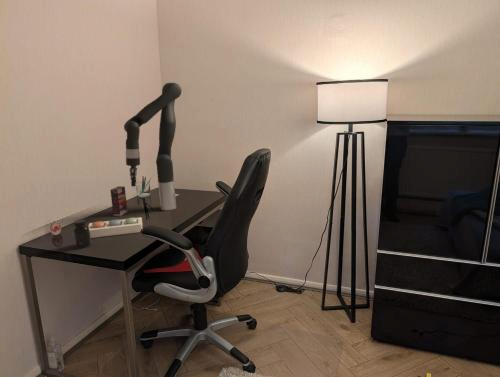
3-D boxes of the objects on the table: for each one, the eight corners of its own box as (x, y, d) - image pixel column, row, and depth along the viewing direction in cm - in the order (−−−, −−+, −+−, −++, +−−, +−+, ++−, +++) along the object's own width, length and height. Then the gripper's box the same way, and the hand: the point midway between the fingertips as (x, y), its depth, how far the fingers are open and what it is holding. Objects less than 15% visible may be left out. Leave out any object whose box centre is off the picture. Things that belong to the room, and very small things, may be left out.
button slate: (121, 223, 185) (120, 218, 185) (120, 227, 180) (119, 222, 179) (110, 224, 184) (109, 220, 183) (108, 228, 179) (108, 223, 178)
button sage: (137, 221, 187) (136, 217, 187) (137, 225, 182) (136, 220, 181) (126, 223, 186) (125, 218, 185) (125, 226, 181) (124, 221, 180)
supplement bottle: (78, 243, 168) (75, 219, 166) (93, 242, 169) (90, 218, 166) (73, 248, 162) (69, 224, 159) (88, 247, 162) (84, 223, 159)
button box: (142, 224, 192) (141, 217, 191) (141, 231, 180) (141, 224, 179) (90, 230, 185) (89, 223, 184) (86, 238, 174) (85, 230, 173)
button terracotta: (105, 225, 183) (104, 220, 183) (103, 229, 178) (103, 224, 177) (93, 226, 182) (92, 221, 181) (91, 230, 177) (91, 225, 176)
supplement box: (120, 216, 207) (117, 189, 203) (113, 215, 208) (109, 189, 204) (128, 211, 215) (125, 186, 212) (121, 211, 216) (117, 186, 213)
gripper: (139, 158, 195) (140, 187, 198) (140, 155, 208) (141, 182, 212) (124, 158, 193) (126, 187, 196) (126, 155, 206) (127, 182, 210)
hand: (133, 184), depth 204 cm, fingers open, 8 cm apart
